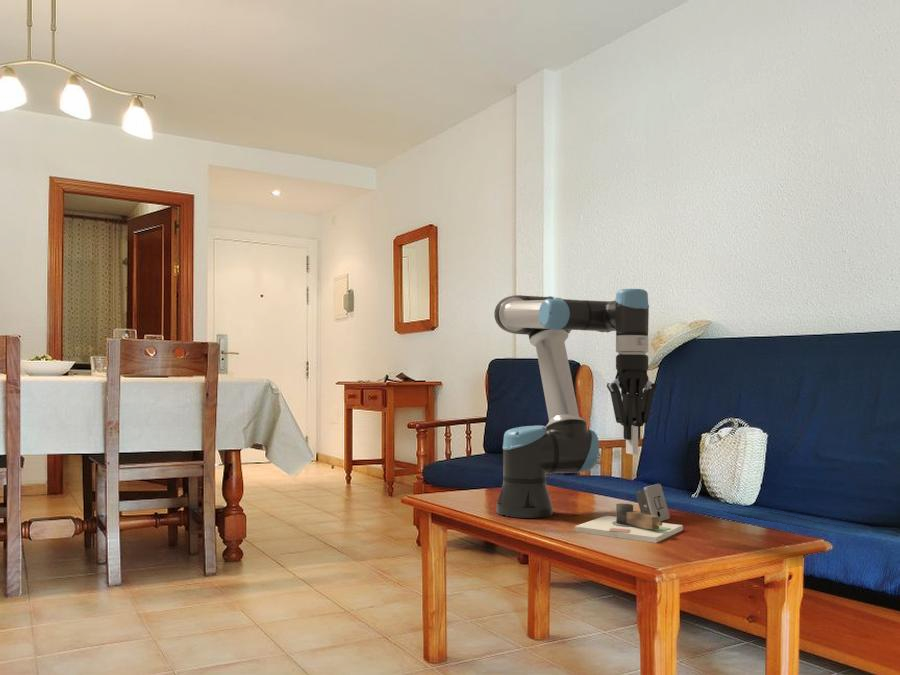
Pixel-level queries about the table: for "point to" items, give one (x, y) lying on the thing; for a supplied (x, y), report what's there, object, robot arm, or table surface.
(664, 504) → the electrical switch
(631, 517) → the peg
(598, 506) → the table surface
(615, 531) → the tuner plate
